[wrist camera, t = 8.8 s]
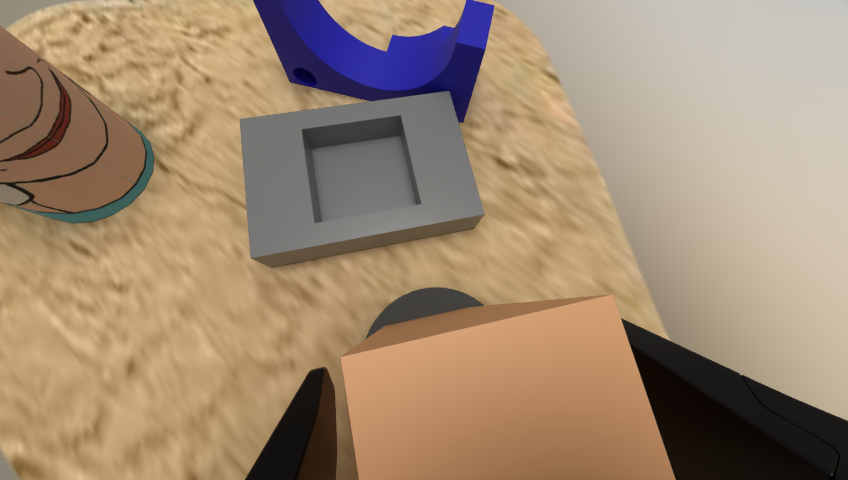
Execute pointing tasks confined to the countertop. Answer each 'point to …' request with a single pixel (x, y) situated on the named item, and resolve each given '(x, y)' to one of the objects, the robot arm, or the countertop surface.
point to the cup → (63, 143)
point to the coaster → (423, 306)
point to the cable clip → (377, 54)
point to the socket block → (355, 178)
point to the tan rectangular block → (503, 397)
